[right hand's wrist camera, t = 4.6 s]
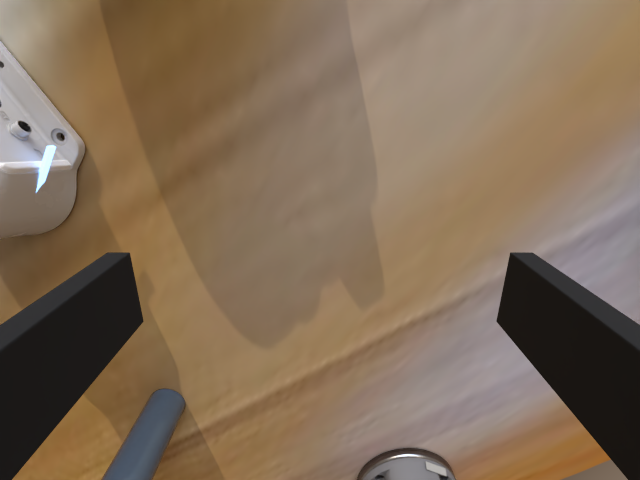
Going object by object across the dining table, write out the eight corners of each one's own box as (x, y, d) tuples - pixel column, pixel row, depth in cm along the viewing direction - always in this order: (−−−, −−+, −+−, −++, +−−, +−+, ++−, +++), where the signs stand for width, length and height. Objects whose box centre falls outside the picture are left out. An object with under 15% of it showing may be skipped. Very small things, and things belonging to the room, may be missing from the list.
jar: (162, 382, 49) (97, 494, 35) (192, 401, 50) (141, 516, 36) (142, 403, 50) (73, 520, 36) (172, 421, 51) (116, 540, 37)
